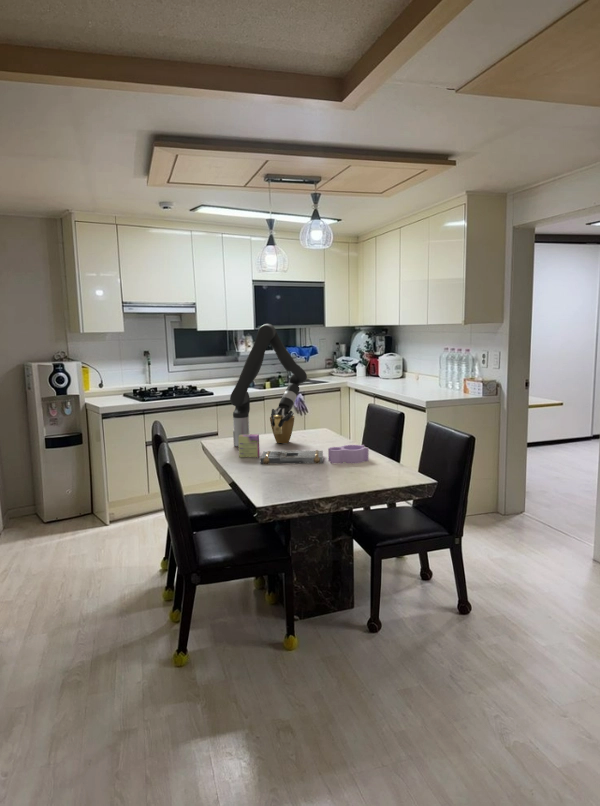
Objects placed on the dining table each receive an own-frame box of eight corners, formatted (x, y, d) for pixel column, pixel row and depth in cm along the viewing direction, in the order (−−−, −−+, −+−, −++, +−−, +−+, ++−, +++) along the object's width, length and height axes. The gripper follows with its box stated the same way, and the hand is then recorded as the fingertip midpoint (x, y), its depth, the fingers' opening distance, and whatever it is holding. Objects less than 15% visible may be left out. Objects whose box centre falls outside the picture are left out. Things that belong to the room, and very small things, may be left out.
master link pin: (273, 434, 281) (273, 416, 279) (274, 432, 286) (273, 414, 284) (282, 434, 281) (281, 416, 279) (283, 432, 285) (282, 414, 284)
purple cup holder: (332, 465, 260) (332, 452, 259) (326, 459, 273) (326, 446, 271) (370, 462, 265) (370, 449, 264) (362, 456, 277) (362, 443, 276)
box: (259, 454, 285) (259, 433, 283) (258, 457, 279) (257, 436, 277) (241, 455, 286) (240, 434, 284) (239, 457, 280) (238, 436, 278)
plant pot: (295, 445, 305) (294, 418, 302) (269, 445, 305) (268, 419, 303) (295, 439, 320) (294, 414, 317) (271, 440, 320) (270, 414, 317)
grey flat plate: (260, 464, 266) (260, 458, 265) (263, 456, 281) (263, 450, 280) (322, 463, 264) (322, 457, 264) (322, 455, 279) (322, 450, 279)
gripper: (274, 395, 290) (262, 420, 282) (295, 397, 282) (284, 423, 274) (280, 403, 295) (268, 428, 287) (301, 405, 288) (289, 431, 279)
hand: (276, 425), depth 281 cm, fingers closed on master link pin, 4 cm apart
